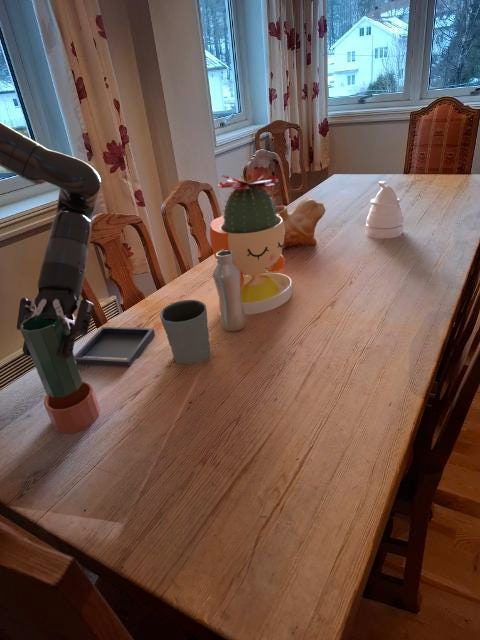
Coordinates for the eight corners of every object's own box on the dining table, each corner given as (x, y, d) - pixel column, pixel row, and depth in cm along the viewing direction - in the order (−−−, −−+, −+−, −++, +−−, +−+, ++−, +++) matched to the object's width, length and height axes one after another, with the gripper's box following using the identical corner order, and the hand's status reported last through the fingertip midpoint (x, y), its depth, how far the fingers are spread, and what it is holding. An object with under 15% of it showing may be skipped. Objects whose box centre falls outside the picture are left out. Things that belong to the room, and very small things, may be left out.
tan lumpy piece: (332, 242, 154) (332, 200, 146) (262, 255, 150) (258, 213, 142) (317, 231, 166) (316, 192, 158) (252, 243, 162) (248, 203, 154)
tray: (73, 365, 101) (71, 358, 100) (104, 333, 113) (102, 326, 112) (130, 369, 97) (128, 361, 96) (155, 335, 109) (153, 328, 108)
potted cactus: (306, 292, 121) (302, 163, 104) (246, 322, 110) (231, 183, 93) (256, 273, 137) (245, 158, 119) (199, 298, 125) (178, 175, 108)
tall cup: (39, 396, 78) (11, 331, 71) (60, 374, 84) (36, 311, 77) (69, 399, 76) (44, 332, 70) (89, 376, 82) (67, 312, 75)
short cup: (44, 433, 81) (34, 409, 78) (70, 402, 89) (61, 379, 86) (85, 437, 79) (76, 412, 76) (108, 405, 87) (100, 382, 84)
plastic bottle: (247, 333, 105) (239, 256, 96) (220, 335, 106) (209, 259, 96) (247, 320, 111) (238, 246, 101) (221, 322, 111) (210, 249, 102)
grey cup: (221, 349, 100) (215, 304, 94) (195, 373, 93) (186, 325, 87) (188, 340, 105) (180, 296, 100) (160, 361, 98) (150, 316, 92)
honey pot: (359, 235, 157) (361, 185, 148) (375, 225, 165) (377, 177, 156) (393, 240, 149) (397, 187, 140) (408, 229, 157) (412, 179, 149)
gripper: (16, 260, 77) (-5, 351, 73) (87, 259, 74) (69, 355, 70) (44, 274, 84) (26, 358, 80) (109, 275, 81) (94, 362, 77)
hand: (46, 356), depth 75 cm, fingers closed on tall cup, 6 cm apart
